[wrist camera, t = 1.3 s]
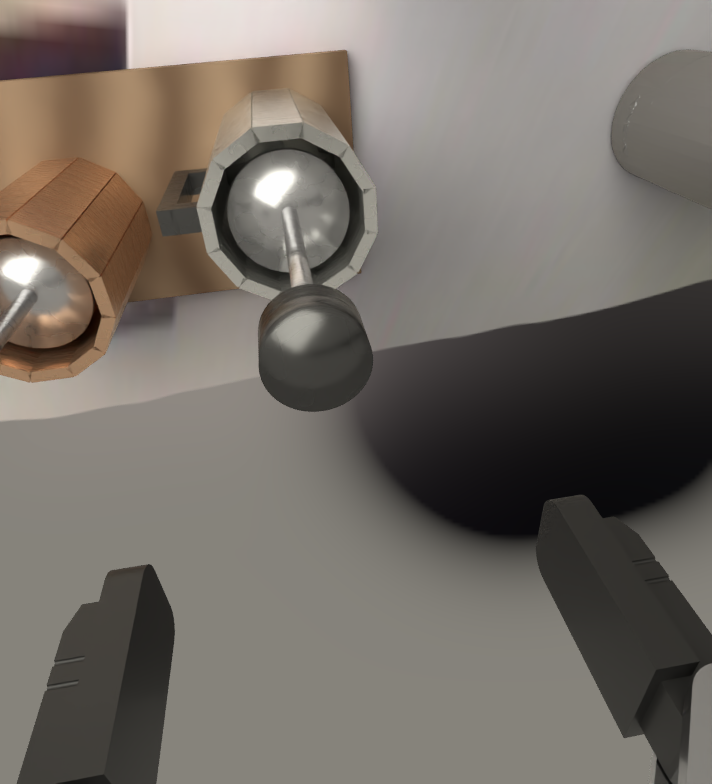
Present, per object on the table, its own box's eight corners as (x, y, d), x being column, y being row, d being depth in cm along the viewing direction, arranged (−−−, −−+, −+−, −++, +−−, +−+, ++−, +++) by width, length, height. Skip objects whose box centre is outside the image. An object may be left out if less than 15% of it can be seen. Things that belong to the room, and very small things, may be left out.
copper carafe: (129, 151, 39) (78, 211, 27) (164, 275, 44) (134, 368, 33) (-47, 169, 38) (-176, 239, 26) (11, 294, 43) (-75, 397, 32)
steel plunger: (343, 141, 29) (418, 252, 16) (352, 261, 33) (418, 431, 20) (216, 154, 28) (185, 281, 15) (240, 274, 32) (232, 459, 19)
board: (344, 49, 38) (347, 51, 37) (359, 267, 48) (361, 273, 47) (-50, 85, 36) (-58, 87, 35) (46, 306, 45) (41, 313, 44)
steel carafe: (336, 83, 38) (372, 115, 27) (347, 216, 44) (380, 290, 32) (164, 99, 37) (126, 139, 26) (196, 234, 43) (176, 316, 31)
